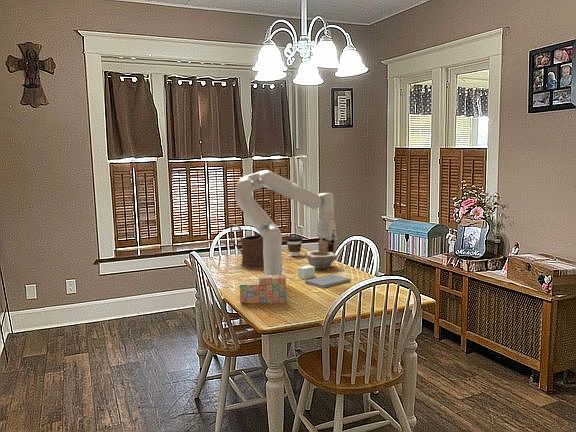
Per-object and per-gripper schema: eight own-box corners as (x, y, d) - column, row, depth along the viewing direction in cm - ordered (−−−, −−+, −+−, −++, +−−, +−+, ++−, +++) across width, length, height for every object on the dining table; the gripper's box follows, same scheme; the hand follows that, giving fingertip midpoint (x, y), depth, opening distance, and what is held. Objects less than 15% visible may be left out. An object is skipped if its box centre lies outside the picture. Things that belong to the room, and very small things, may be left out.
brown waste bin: (267, 268, 314) (265, 227, 311) (228, 268, 318) (226, 227, 315) (272, 262, 332) (271, 223, 329) (235, 261, 336) (234, 223, 333)
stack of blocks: (240, 304, 244) (239, 278, 242) (241, 300, 250) (240, 275, 248) (285, 303, 243) (285, 277, 241) (286, 299, 249) (285, 274, 248)
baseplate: (323, 288, 267) (323, 285, 267) (305, 283, 278) (305, 280, 278) (350, 281, 280) (350, 278, 279) (332, 276, 290) (332, 274, 290)
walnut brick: (325, 253, 272) (324, 241, 271) (318, 252, 276) (318, 240, 275) (336, 251, 277) (336, 239, 276) (329, 249, 281) (329, 238, 280)
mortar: (338, 270, 306) (338, 254, 305) (310, 272, 302) (310, 256, 301) (330, 264, 322) (330, 249, 321) (303, 266, 319) (303, 251, 317)
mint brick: (304, 279, 286) (304, 268, 285) (298, 278, 290) (298, 267, 289) (315, 277, 291) (314, 266, 290) (309, 275, 295) (308, 265, 294)
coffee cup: (295, 253, 357) (295, 236, 356) (306, 255, 349) (305, 237, 347) (283, 255, 350) (282, 238, 349) (293, 258, 342) (293, 240, 340)
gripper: (310, 215, 278) (311, 249, 281) (332, 218, 265) (333, 253, 268) (321, 214, 283) (321, 247, 285) (343, 217, 270) (343, 251, 272)
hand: (327, 250), depth 276 cm, fingers closed on walnut brick, 5 cm apart
